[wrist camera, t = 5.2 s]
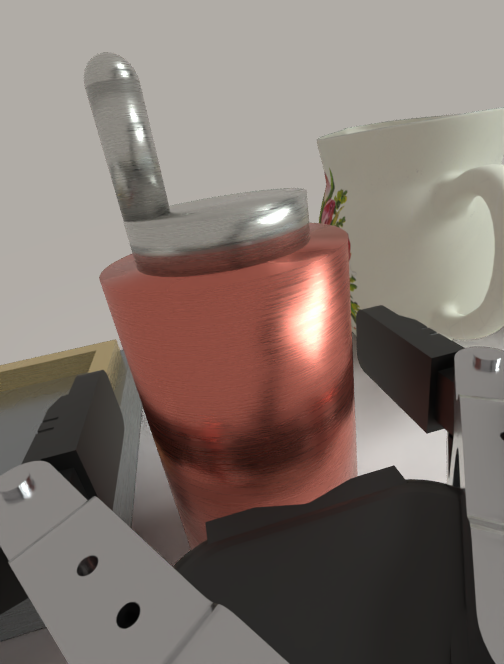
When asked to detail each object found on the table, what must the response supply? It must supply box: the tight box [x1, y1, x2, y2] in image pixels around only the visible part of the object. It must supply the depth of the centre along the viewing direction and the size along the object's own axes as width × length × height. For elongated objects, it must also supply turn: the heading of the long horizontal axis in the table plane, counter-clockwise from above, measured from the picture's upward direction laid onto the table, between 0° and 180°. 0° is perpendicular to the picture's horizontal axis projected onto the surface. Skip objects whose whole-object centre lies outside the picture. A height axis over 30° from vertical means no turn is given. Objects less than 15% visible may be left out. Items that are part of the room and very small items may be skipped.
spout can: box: [84, 52, 357, 550], centre depth 10 cm, size 6×6×15 cm
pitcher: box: [317, 107, 504, 341], centre depth 23 cm, size 11×18×14 cm, turn 5°
